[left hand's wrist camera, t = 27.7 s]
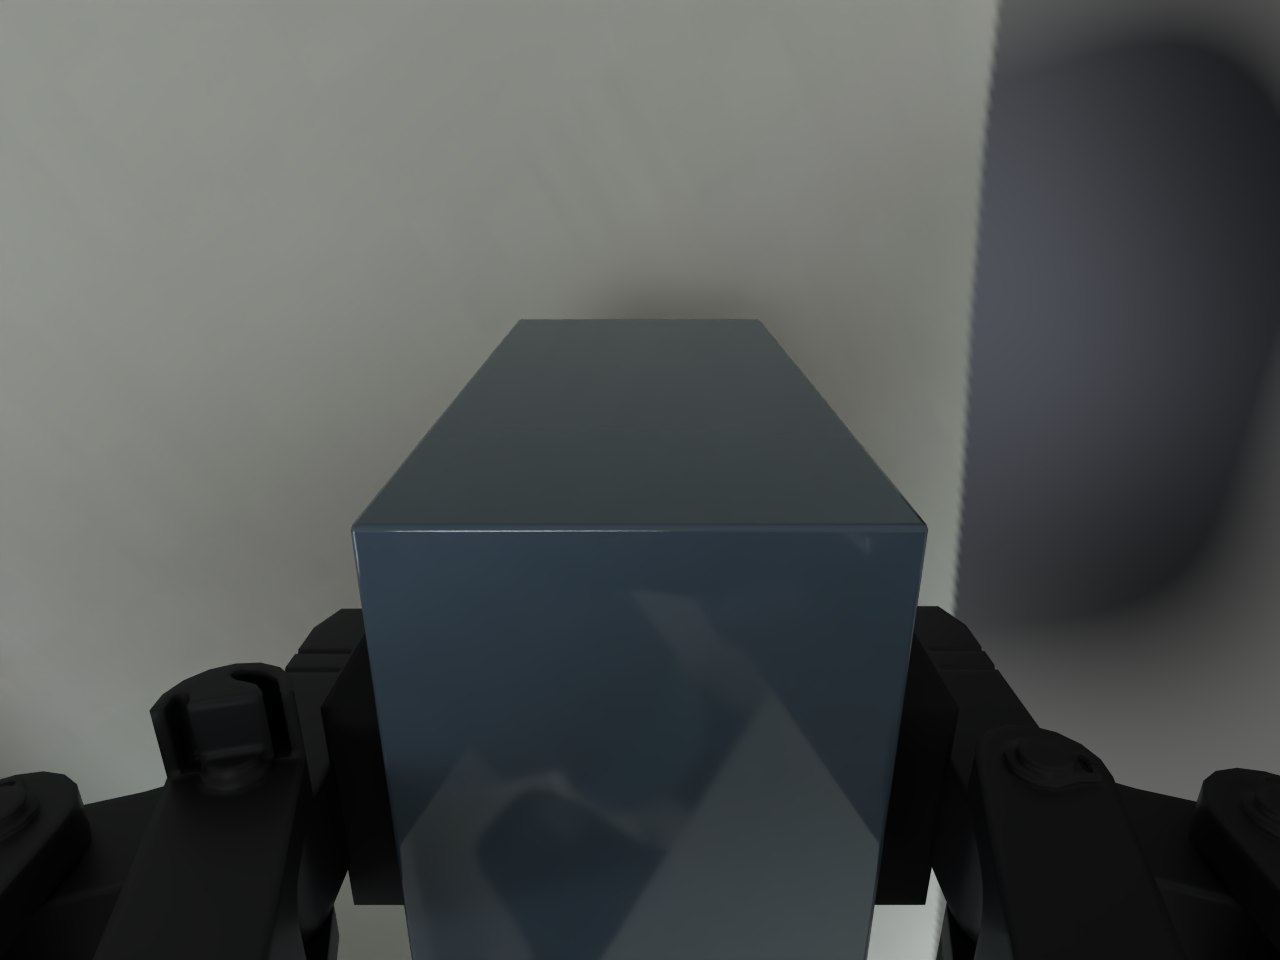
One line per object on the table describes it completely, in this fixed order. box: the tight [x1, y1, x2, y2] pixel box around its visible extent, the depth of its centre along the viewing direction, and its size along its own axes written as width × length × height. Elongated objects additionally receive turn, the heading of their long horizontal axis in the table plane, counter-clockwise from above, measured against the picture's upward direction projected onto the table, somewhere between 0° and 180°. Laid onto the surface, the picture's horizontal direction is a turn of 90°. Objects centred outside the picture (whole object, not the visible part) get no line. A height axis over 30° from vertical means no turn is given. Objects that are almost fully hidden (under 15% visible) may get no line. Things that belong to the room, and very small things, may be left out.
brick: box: [351, 319, 928, 960], centre depth 13 cm, size 5×7×10 cm
